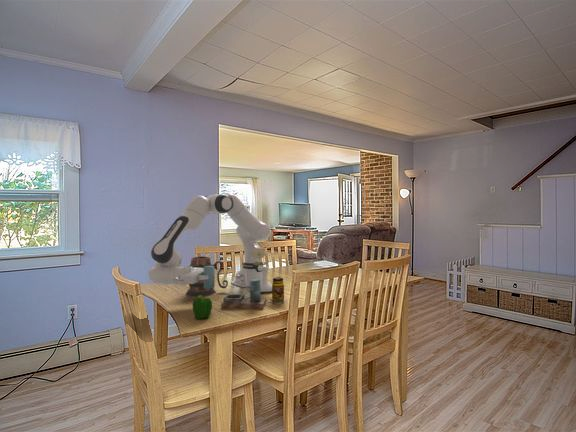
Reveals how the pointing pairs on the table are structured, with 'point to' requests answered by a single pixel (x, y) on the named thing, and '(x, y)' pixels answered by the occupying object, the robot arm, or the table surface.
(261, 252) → the flower in vase
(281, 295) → the condiment
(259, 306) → the base
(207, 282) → the column
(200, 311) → the bell pepper
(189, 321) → the table surface
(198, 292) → the tankard
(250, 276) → the robot arm
